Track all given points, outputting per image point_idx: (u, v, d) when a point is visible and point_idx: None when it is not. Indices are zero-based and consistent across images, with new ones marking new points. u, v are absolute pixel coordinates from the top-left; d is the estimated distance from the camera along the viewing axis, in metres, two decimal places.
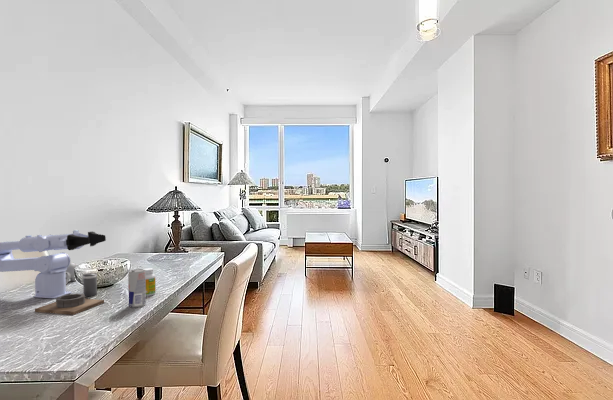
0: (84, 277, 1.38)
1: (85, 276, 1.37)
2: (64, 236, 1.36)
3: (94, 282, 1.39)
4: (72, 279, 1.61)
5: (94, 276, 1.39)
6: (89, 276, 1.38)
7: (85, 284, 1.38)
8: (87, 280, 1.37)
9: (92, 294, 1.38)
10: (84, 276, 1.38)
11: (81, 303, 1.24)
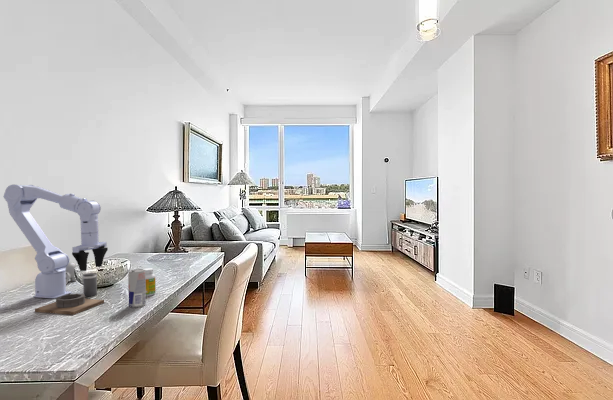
0: (84, 277, 1.38)
1: (85, 276, 1.37)
2: (90, 237, 1.37)
3: (94, 282, 1.39)
4: (72, 279, 1.60)
5: (94, 276, 1.39)
6: (89, 276, 1.38)
7: (85, 284, 1.38)
8: (87, 280, 1.37)
9: (92, 294, 1.38)
10: (84, 276, 1.38)
11: (81, 303, 1.24)
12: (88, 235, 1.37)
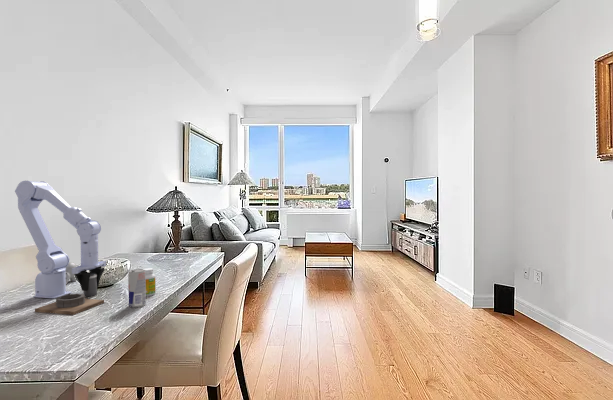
0: None
1: None
2: (90, 258, 1.37)
3: (94, 282, 1.39)
4: (72, 279, 1.60)
5: (94, 276, 1.39)
6: None
7: None
8: None
9: (92, 294, 1.38)
10: None
11: (81, 303, 1.24)
12: (88, 256, 1.37)
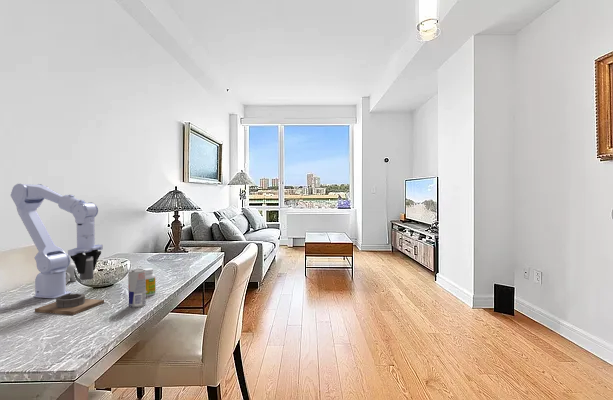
0: None
1: None
2: (86, 240, 1.34)
3: (91, 265, 1.36)
4: (72, 279, 1.60)
5: (91, 259, 1.36)
6: None
7: None
8: None
9: (89, 277, 1.35)
10: None
11: (81, 303, 1.24)
12: (84, 238, 1.34)
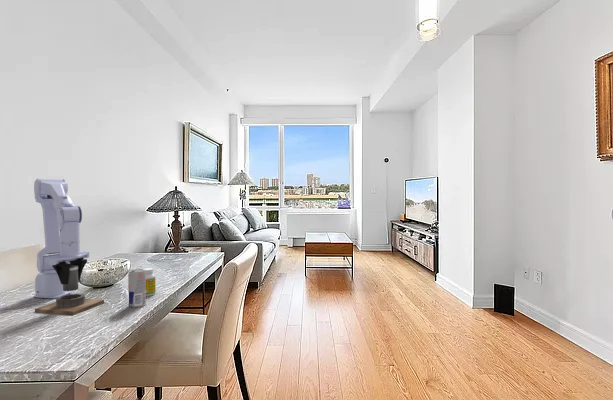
0: None
1: None
2: (70, 247, 1.22)
3: (75, 275, 1.24)
4: None
5: (75, 268, 1.24)
6: None
7: None
8: None
9: (73, 288, 1.23)
10: None
11: (81, 303, 1.24)
12: (67, 245, 1.22)
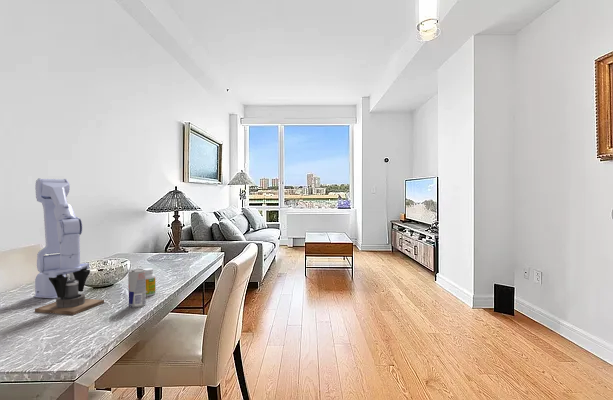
0: None
1: None
2: (70, 259, 1.22)
3: (75, 290, 1.24)
4: None
5: (75, 283, 1.24)
6: (69, 283, 1.23)
7: (65, 292, 1.23)
8: (67, 287, 1.23)
9: None
10: None
11: (81, 303, 1.24)
12: (68, 257, 1.22)
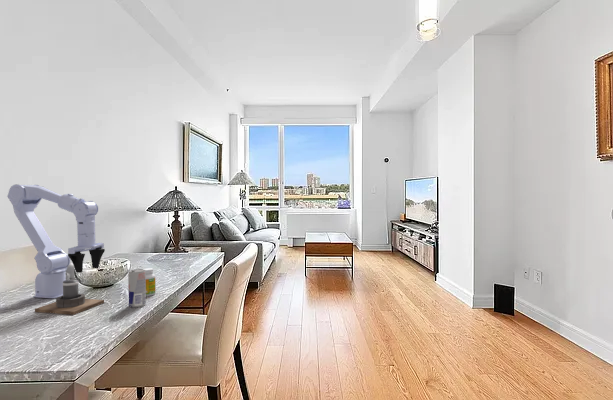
0: (64, 284, 1.23)
1: (65, 283, 1.23)
2: (87, 238, 1.35)
3: (75, 290, 1.24)
4: None
5: (75, 283, 1.24)
6: (69, 283, 1.23)
7: (65, 292, 1.23)
8: (67, 287, 1.23)
9: None
10: (64, 283, 1.23)
11: (81, 303, 1.24)
12: (84, 236, 1.35)
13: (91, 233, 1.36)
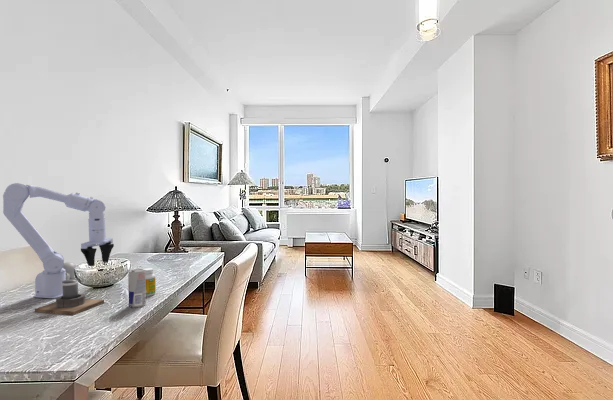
0: (63, 284, 1.23)
1: (64, 283, 1.23)
2: (98, 234, 1.45)
3: (75, 289, 1.24)
4: None
5: (75, 283, 1.24)
6: (69, 283, 1.23)
7: (65, 292, 1.23)
8: (66, 287, 1.23)
9: None
10: (63, 283, 1.23)
11: (81, 303, 1.24)
12: (95, 232, 1.44)
13: (102, 229, 1.46)
